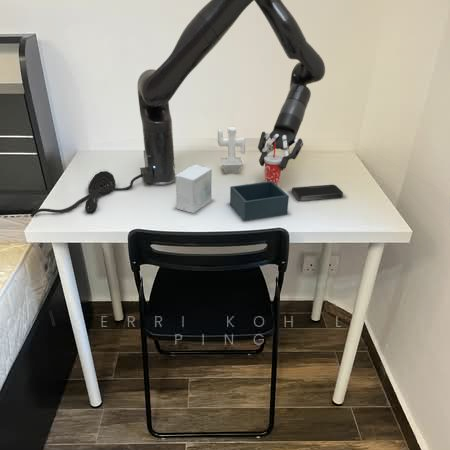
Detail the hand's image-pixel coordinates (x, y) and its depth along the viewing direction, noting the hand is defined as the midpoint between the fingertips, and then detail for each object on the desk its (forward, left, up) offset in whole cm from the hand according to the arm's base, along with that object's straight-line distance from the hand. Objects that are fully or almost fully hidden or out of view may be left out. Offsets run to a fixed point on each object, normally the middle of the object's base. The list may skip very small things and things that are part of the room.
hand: (271, 166), depth 143 cm
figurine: (-6, +20, -8) cm, 22 cm away
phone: (+13, -7, -8) cm, 17 cm away
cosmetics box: (-26, -2, -8) cm, 27 cm away
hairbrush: (-52, +14, -8) cm, 55 cm away
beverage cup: (+1, +1, -7) cm, 7 cm away
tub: (-9, -11, -8) cm, 16 cm away
